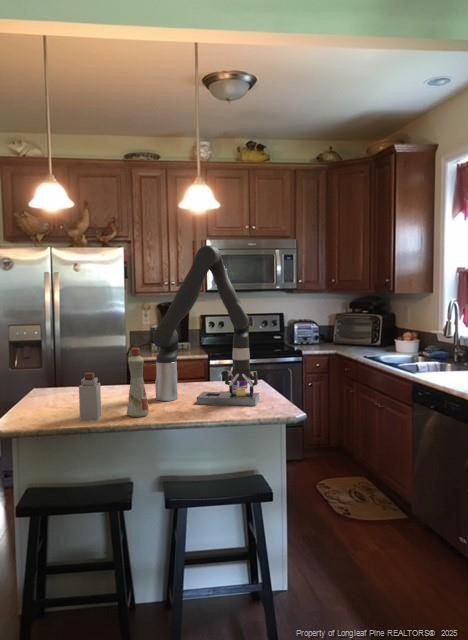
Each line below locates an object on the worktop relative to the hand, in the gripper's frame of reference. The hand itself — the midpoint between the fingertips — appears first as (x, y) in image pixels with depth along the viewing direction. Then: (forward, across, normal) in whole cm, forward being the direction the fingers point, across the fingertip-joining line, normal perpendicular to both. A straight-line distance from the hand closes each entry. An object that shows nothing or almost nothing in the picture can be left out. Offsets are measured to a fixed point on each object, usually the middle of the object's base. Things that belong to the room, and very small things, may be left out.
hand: (241, 394), depth 226 cm
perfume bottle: (+4, -55, -34) cm, 65 cm away
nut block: (+4, 0, 0) cm, 4 cm away
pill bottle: (+4, -5, +22) cm, 23 cm away
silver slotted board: (+4, -6, 0) cm, 7 cm away
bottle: (+4, -38, -27) cm, 47 cm away
